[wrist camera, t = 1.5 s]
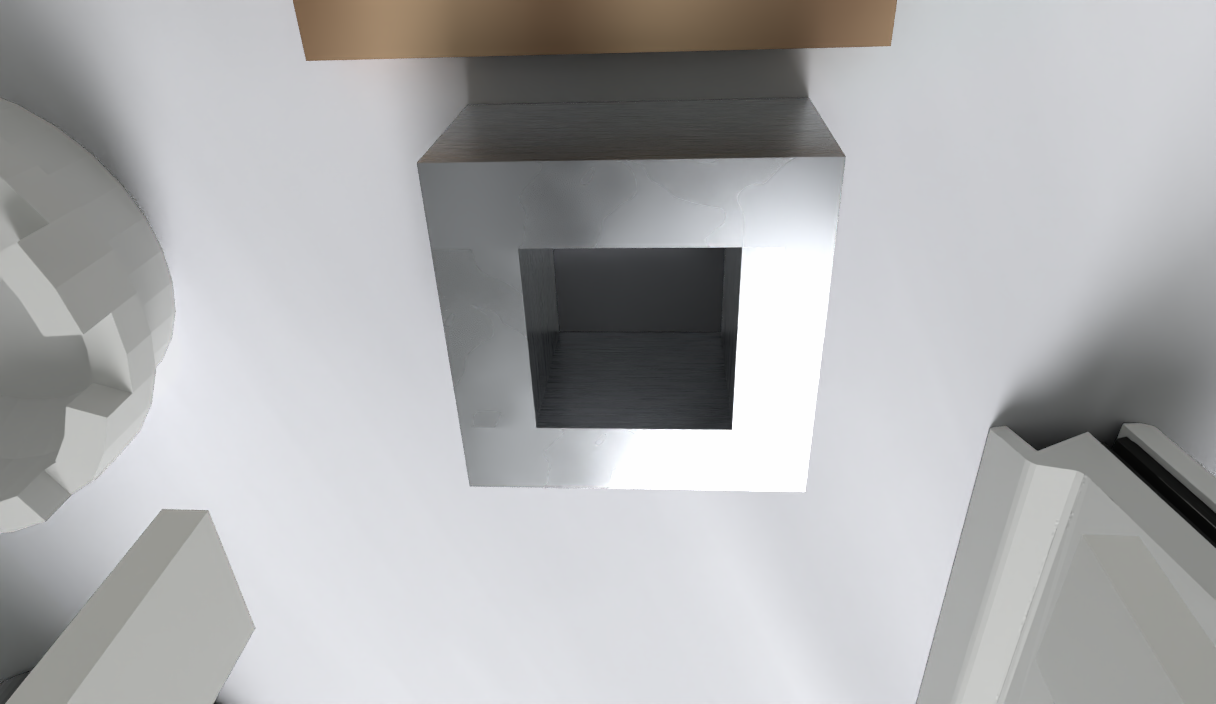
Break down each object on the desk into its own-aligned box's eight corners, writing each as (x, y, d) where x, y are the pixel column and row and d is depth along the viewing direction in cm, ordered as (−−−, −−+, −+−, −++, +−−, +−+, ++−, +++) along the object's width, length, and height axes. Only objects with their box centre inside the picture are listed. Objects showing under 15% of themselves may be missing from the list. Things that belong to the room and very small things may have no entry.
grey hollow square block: (503, 385, 26) (469, 486, 22) (467, 105, 21) (416, 162, 17) (782, 387, 25) (805, 491, 21) (808, 97, 20) (845, 156, 16)
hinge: (992, 417, 25) (1308, 678, 17) (1114, 390, 26) (1468, 623, 18) (907, 735, 34) (1089, 1010, 26) (1001, 705, 35) (1206, 961, 27)
